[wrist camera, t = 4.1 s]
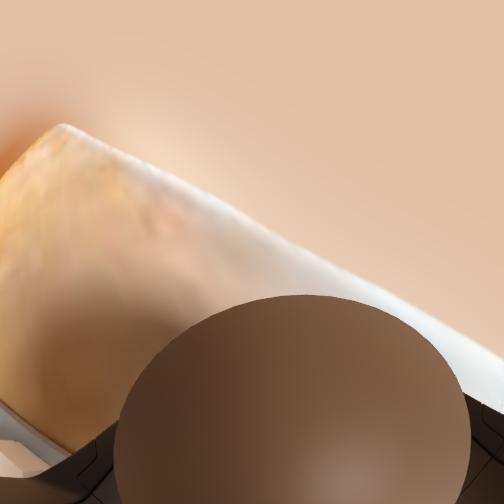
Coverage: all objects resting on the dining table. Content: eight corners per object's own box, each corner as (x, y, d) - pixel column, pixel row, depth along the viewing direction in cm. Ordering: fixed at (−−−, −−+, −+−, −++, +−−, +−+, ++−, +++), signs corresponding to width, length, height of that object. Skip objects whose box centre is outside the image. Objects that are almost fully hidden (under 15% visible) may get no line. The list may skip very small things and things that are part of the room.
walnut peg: (325, 463, 12) (413, 595, 1) (232, 449, 13) (100, 550, 2) (342, 377, 14) (482, 312, 3) (250, 363, 15) (159, 270, 4)
